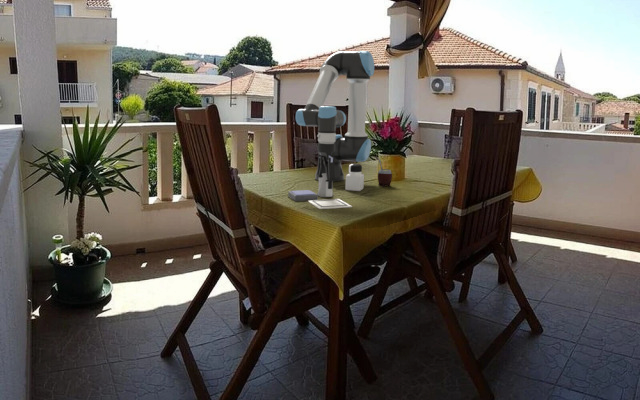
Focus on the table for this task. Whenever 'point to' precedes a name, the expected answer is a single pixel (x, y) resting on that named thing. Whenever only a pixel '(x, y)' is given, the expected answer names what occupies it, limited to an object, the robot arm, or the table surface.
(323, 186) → the flask
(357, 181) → the medicine bottle
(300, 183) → the table surface
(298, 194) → the pad
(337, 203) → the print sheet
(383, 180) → the mate gourd
